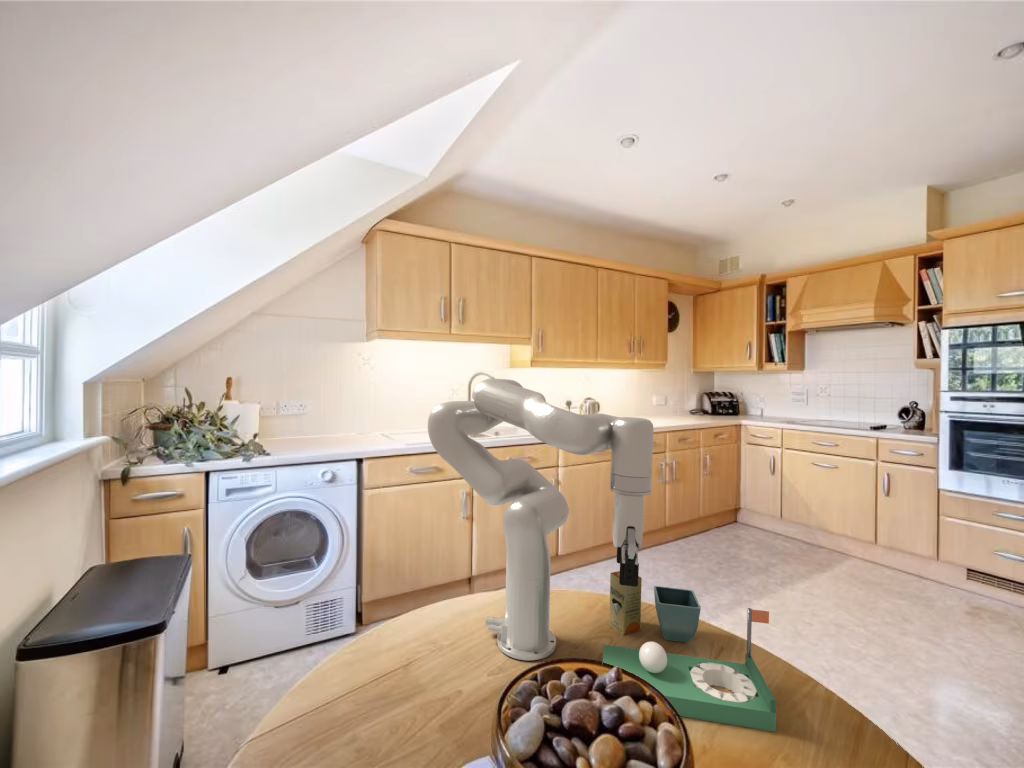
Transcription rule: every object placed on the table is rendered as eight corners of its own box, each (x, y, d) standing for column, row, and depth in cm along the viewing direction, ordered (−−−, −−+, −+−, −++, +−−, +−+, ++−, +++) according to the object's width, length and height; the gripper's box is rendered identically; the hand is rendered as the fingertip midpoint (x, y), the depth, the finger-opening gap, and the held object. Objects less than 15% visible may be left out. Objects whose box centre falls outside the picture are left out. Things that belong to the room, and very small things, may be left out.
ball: (639, 677, 80) (640, 649, 80) (637, 660, 85) (638, 634, 85) (668, 681, 79) (669, 653, 79) (664, 664, 84) (665, 638, 84)
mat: (602, 703, 77) (603, 674, 77) (602, 658, 90) (603, 634, 90) (775, 731, 71) (776, 700, 72) (749, 680, 84) (749, 653, 84)
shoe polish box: (623, 635, 99) (624, 581, 99) (609, 624, 103) (610, 572, 103) (640, 630, 101) (641, 577, 101) (625, 619, 105) (626, 569, 105)
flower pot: (700, 650, 94) (701, 608, 94) (657, 644, 95) (658, 602, 95) (692, 628, 102) (693, 589, 102) (652, 623, 104) (653, 585, 104)
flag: (746, 684, 83) (748, 609, 83) (745, 681, 84) (747, 607, 84) (768, 687, 82) (769, 611, 82) (766, 684, 83) (768, 610, 83)
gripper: (608, 472, 92) (605, 554, 92) (611, 492, 75) (607, 592, 75) (645, 475, 91) (642, 558, 91) (657, 496, 74) (653, 597, 74)
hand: (626, 573), depth 83 cm, fingers open, 9 cm apart
